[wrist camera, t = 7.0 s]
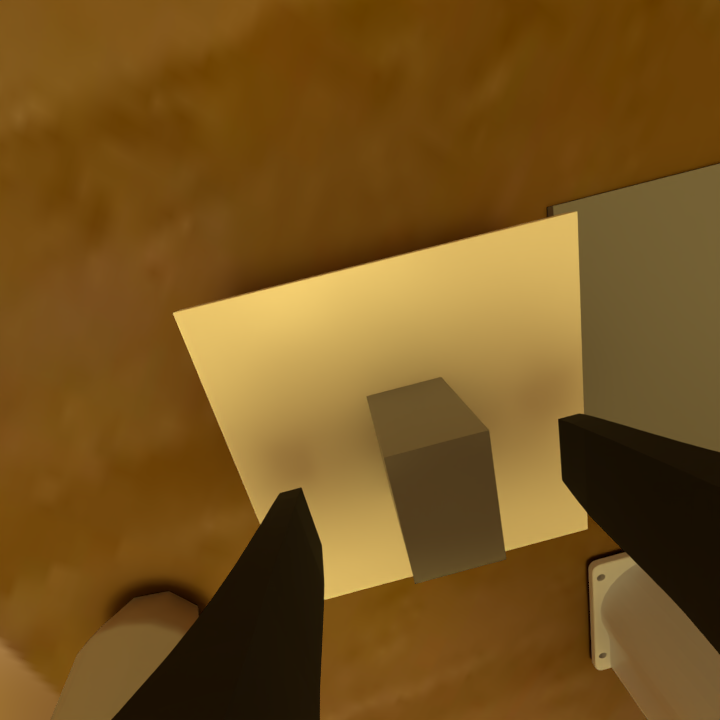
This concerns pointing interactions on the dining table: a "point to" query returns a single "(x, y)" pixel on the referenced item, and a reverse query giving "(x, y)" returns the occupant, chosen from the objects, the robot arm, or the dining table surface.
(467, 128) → the dining table surface
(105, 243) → the dining table surface
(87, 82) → the dining table surface
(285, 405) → the lid
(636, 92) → the dining table surface
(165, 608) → the salt shaker
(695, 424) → the mat
